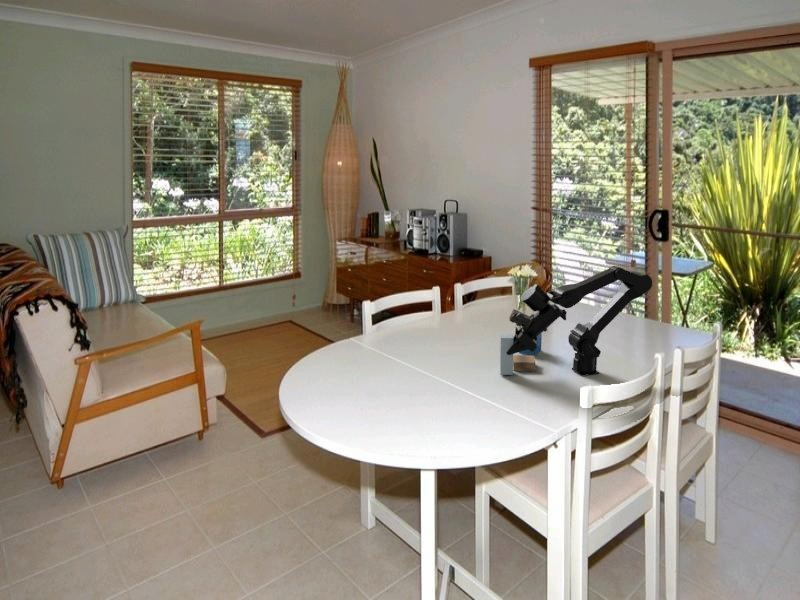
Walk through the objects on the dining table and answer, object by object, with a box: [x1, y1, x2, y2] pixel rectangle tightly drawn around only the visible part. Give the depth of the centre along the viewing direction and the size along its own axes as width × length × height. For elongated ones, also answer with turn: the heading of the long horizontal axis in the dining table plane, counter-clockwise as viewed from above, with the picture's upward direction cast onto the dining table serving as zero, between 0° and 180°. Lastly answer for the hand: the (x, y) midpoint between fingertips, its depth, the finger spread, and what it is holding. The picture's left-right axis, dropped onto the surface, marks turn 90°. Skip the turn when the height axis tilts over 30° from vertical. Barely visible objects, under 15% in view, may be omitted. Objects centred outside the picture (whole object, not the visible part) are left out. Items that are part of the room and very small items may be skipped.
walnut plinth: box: [513, 354, 536, 372], centre depth 189 cm, size 7×7×3 cm
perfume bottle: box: [518, 333, 543, 357], centre depth 204 cm, size 6×6×12 cm
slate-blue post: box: [499, 333, 514, 376], centre depth 183 cm, size 4×4×12 cm
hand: (507, 351), depth 183 cm, fingers closed on slate-blue post, 4 cm apart
